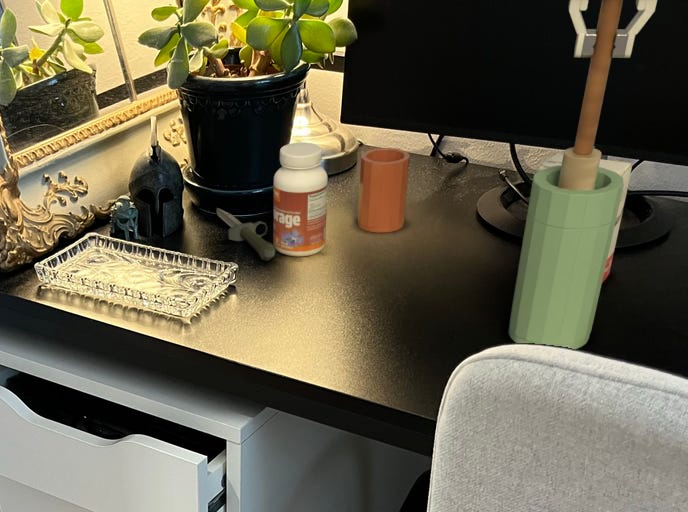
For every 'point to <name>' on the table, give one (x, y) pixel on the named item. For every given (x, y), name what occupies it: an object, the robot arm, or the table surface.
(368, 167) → the brush cup
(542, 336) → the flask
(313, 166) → the pill bottle
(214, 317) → the table surface
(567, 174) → the brush
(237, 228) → the knife
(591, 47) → the robot arm
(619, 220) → the ink box
